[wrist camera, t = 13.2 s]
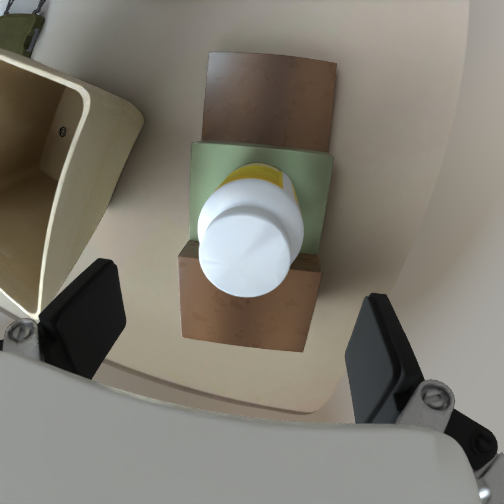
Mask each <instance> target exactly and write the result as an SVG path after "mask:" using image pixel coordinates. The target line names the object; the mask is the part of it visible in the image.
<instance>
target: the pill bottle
mask: <svg viewBox="0 0 504 504" xmlns="http://www.w3.org/2000/svg"><path fill="white" fill-rule="evenodd" d="M303 237H304V225H303V219H302V214H301V211H300V207H299V203H298V200H297V195H296V191H295V188H294V186H293V183H292V182H291V180H290V179H289V177H288V176H287V175H286V174H285V173H284V172H283V171H282V170H280V169H279V168H277V167H275V166H273V165H271V164H267V163H262V162H253V163H248V164H245V165H242V166H240V167H238V168H236V169H235V170H233V171H232V172H231V173H230V174H229V175H228V176H227V177H226V178H225V180H224V181H223V182H222V183H221V184H220V185H219V187H218V188H217V189H216V190H215V191H214V192H213V193H212V195H211V196H210V197H209V198H208V200H207V201H206V203H205V204H204V206H203V208H202V210H201V213H200V216H199V220H198V238H199V242H200V246H199V261H200V264H201V267H202V270H203V272H204V274H205V275H206V277H207V278H208V279H209V280H210V281H211V283H212V284H214V285H215V286H216V287H217V288H219V289H220V290H222V291H224V292H226V293H228V294H231V295H234V296H239V297H256V296H260V295H263V294H266V293H268V292H270V291H272V290H273V289H275V288H276V287H277V286H279V285H280V284H281V282H282V281H283V280H284V279H285V277H286V275H287V274H288V271H289V269H290V265H291V264H292V262H293V261H294V260H295V258H296V257H297V255H298V253H299V251H300V249H301V246H302V242H303Z"/></svg>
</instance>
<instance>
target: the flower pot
mask: <svg viewBox="0 0 504 504" xmlns="http://www.w3.org/2000/svg"><path fill="white" fill-rule="evenodd" d="M143 123H144V118H143V116H142V114H141V112H140V111H139V110H138V109H137V108H136V107H135V106H134V105H133V104H131V103H130V102H128V101H126V100H125V99H123V98H120V97H118V96H116V95H114V94H112V93H109V92H107V91H105V90H103V89H100V88H98V87H96V86H93V85H91V84H89V83H86V82H84V81H82V80H79V79H77V78H75V77H72V76H70V75H68V74H65V73H63V72H60V71H58V70H55V69H53V68H50V67H48V66H46V65H44V64H42V63H39V62H37V61H35V60H32V59H30V58H27V57H25V56H22V55H19V54H17V53H14V52H11V51H8V50H4V49H1V48H0V291H1V292H2V293H4V294H5V295H6V296H7V297H8V298H9V299H10V300H11V301H13V302H14V303H15V304H16V305H17V306H18V307H20V308H21V309H22V310H23V311H24V312H25V313H27V314H28V315H29V316H30V317H32V318H34V319H39V317H38V315H39V314H40V313H41V312H42V311H43V310H44V309H45V308H46V307H47V306H48V305H49V304H50V303H51V301H52V300H53V298H54V297H55V295H56V294H57V292H58V291H59V289H60V287H61V286H62V284H63V283H64V281H65V280H66V278H67V277H68V275H69V273H70V272H71V270H72V268H73V267H74V265H75V264H76V262H77V260H78V259H79V257H80V255H81V254H82V252H83V250H84V249H85V247H86V245H87V244H88V242H89V240H90V238H91V237H92V235H93V233H94V231H95V230H96V228H97V226H98V224H99V222H100V220H101V219H102V217H103V215H104V213H105V211H106V209H107V207H108V204H109V202H110V199H111V197H112V194H113V192H114V189H115V186H116V184H117V182H118V179H119V177H120V174H121V172H122V170H123V167H124V165H125V163H126V160H127V158H128V156H129V153H130V151H131V149H132V147H133V145H134V143H135V141H136V138H137V136H138V134H139V132H140V130H141V128H142V126H143ZM61 127H65V128H66V135H65V136H64V137H61V136H60V134H59V130H60V128H61Z"/></svg>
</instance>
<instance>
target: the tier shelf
mask: <svg viewBox="0 0 504 504" xmlns="http://www.w3.org/2000/svg"><path fill="white" fill-rule="evenodd" d="M336 68H337V63H333V62H328V61H322V60H315V59H309V58H301V57H294V56H285V55H274V54H262V53H244V52H209V57H208V66H207V77H206V88H205V100H204V113H203V128H202V140H200V141H197V142H193V143H192V146H191V169H190V206H189V241H188V242H187V244H186V245H185V247H184V248H183V249H182V251H181V252H180V254H179V255H178V278H179V299H180V316H181V330H182V337H184V338H190V339H196V340H203V341H209V342H216V343H222V344H230V345H237V346H245V347H253V348H262V349H271V350H281V351H292V352H303V350H304V347H305V343H306V339H307V335H308V331H309V328H310V324H311V320H312V316H313V311H314V307H315V303H316V299H317V295H318V290H319V286H320V281H321V277H322V270H321V266H320V262H319V258H318V250H319V245H320V240H321V234H322V229H323V223H324V217H325V211H326V205H327V199H328V193H329V187H330V180H331V174H332V167H333V160H334V157H333V156H332V155H330V154H329V153H327V152H328V144H329V136H330V128H331V119H332V110H333V100H334V90H335V79H336ZM253 162H262V163H267V164H271V165H273V166H275V167H277V168H279V169H280V170H282V171H283V172H284V173H285V174H286V175H287V176H288V177H289V179H290V180H291V182H292V183H293V186H294V188H295V191H296V195H297V200H298V203H299V207H300V211H301V214H302V219H303V225H304V237H303V242H302V246H301V249H300V251H299V253H298V255H297V257H296V258H295V260H294V261H293V262H292V264H291V265H290V269H289V271H288V274H287V275H286V277H285V279H284V280H283V281H282V282H281V284H280V285H279V286H277V287H276V288H275V289H273V290H272V291H270V292H268V293H266V294H263V295H260V296H256V297H239V296H234V295H231V294H228V293H226V292H224V291H222V290H220V289H219V288H217V287H216V286H215V285H214V284H212V283H211V281H210V280H209V279H208V278H207V277H206V275H205V274H204V272H203V270H202V267H201V264H200V261H199V246H200V242H199V238H198V220H199V216H200V213H201V210H202V208H203V206H204V204H205V203H206V201H207V200H208V198H209V197H210V196H211V195H212V193H213V192H214V191H215V190H216V189H217V188H218V187H219V185H220V184H221V183H222V182H223V181H224V180H225V178H226V177H227V176H228V175H229V174H230V173H231V172H232V171H233V170H235V169H236V168H238V167H240V166H242V165H245V164H248V163H253Z"/></svg>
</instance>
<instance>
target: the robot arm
mask: <svg viewBox="0 0 504 504" xmlns="http://www.w3.org/2000/svg"><path fill="white" fill-rule="evenodd" d="M38 317H39V320H40V322H39V323H38V324H37V323H36V322H35V321H34V320H32V319H29V318H23V319H19V320H16V321H14V322H13V323H11V324H10V325H9V326H8V327H7V329H6V330H5V334H4V339H3V340H0V504H504V454H503V453H500V454H498V453H497V449H498V445H497V440H496V438H495V436H494V435H493V434H492V432H491V431H489V430H488V429H486V428H485V427H483V426H481V425H480V424H478V423H477V422H475V421H473V420H472V419H470V418H469V417H467V416H465V415H463V414H462V413H460V412H459V411H457V410H456V409H454V405H455V398H454V394H453V392H452V390H451V389H450V388H449V387H448V386H447V385H445V384H444V383H443V382H440V381H438V380H432V379H430V380H425V379H424V377H423V374H422V372H421V369H420V367H419V365H418V362H417V360H416V357H415V355H414V353H413V350H412V348H411V345H410V343H409V341H408V339H407V337H406V334H405V332H404V331H403V329H402V326H401V324H400V322H399V320H398V318H397V316H396V313H395V311H394V309H393V307H392V305H391V303H390V301H389V299H388V297H387V295H386V294H378V293H371V294H370V295H369V297H368V296H366V297H365V298H364V300H363V303H362V306H361V309H360V312H359V315H358V318H357V321H356V324H355V327H354V330H353V332H352V335H351V338H350V341H349V343H348V346H347V349H346V352H345V362H346V367H347V373H348V378H349V384H350V390H351V396H352V402H353V408H354V415H355V422H356V424H341V423H312V422H295V421H282V420H272V419H262V418H254V417H246V416H238V415H231V414H225V413H219V412H213V411H208V410H202V409H197V408H192V407H187V406H182V405H177V404H173V403H169V402H164V401H160V400H157V399H153V398H149V397H145V396H141V395H138V394H134V393H131V392H127V391H124V390H120V389H117V388H114V387H111V386H108V385H105V384H102V383H99V382H96V381H93V380H91V379H92V377H93V376H94V374H95V373H96V371H97V370H98V368H99V366H100V365H101V363H102V362H103V360H104V359H105V357H106V355H107V354H108V352H109V351H110V349H111V348H112V346H113V345H114V343H115V342H116V340H117V338H118V337H119V335H120V334H121V332H122V331H123V329H124V328H125V325H126V316H125V311H124V305H123V300H122V294H121V288H120V282H119V275H118V269H117V266H116V265H115V264H114V262H113V261H112V260H109V259H103V258H98V259H97V260H96V261H94V262H93V263H92V264H91V265H90V266H89V267H88V268H87V269H86V270H84V271H83V272H82V273H81V274H80V275H79V276H78V277H77V278H76V279H75V280H74V281H73V282H72V283H70V284H69V285H68V286H67V287H66V288H65V289H64V290H63V291H62V292H61V293H60V294H59V295H58V296H57V297H56V298H55V299H54V300H53V301H52V302H51V303H50V304H49V305H48V306H47V307H46V308H45V309H44V310H43V311H42V312H41V313H40V314H39V315H38Z"/></svg>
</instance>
